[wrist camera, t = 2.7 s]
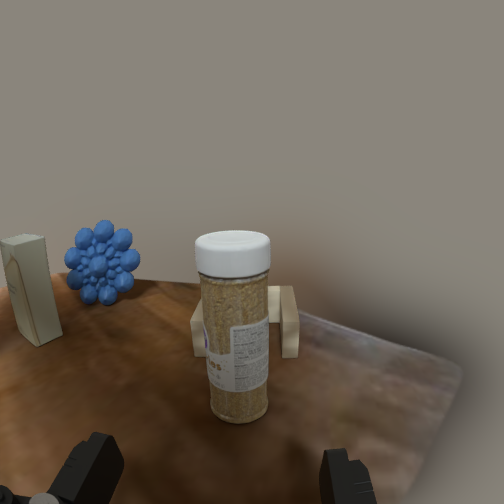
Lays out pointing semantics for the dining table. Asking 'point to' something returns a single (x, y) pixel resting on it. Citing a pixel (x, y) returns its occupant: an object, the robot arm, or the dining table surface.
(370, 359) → the dining table surface
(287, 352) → the pocket
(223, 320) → the spice jar
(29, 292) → the skincare box
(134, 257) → the blue bumpy cluster
